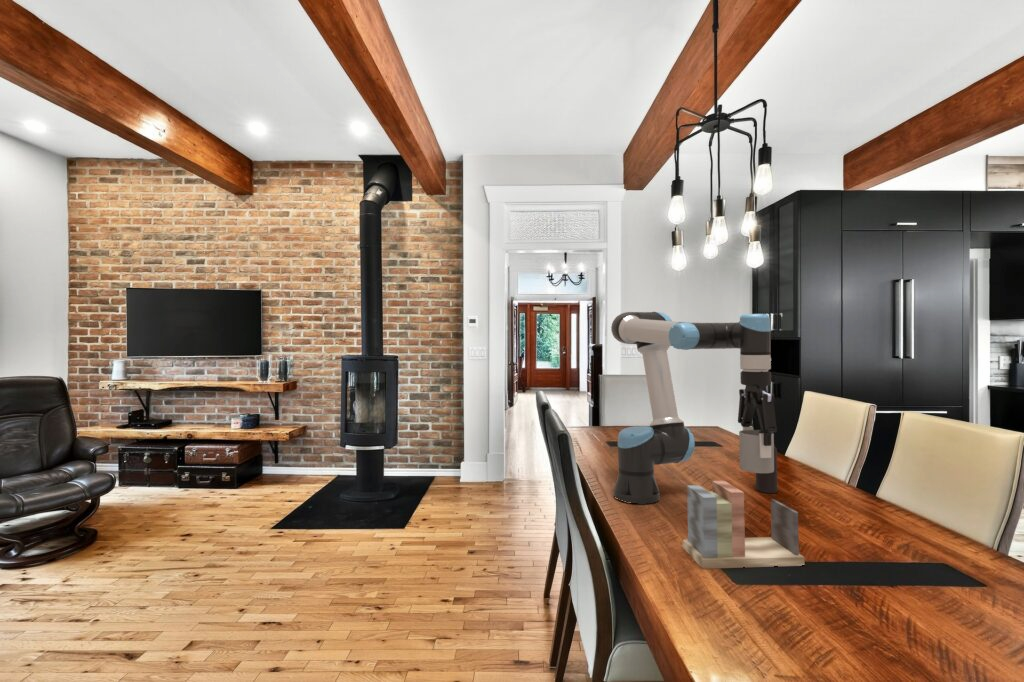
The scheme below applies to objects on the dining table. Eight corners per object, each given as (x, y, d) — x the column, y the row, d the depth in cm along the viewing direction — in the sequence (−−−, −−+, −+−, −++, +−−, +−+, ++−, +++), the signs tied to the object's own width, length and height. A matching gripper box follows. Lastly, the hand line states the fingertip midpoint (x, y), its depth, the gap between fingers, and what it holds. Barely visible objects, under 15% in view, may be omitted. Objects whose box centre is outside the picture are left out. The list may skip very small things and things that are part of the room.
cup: (760, 474, 129) (759, 436, 129) (733, 467, 137) (732, 431, 137) (780, 470, 133) (780, 433, 133) (753, 464, 140) (752, 428, 141)
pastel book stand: (682, 547, 126) (681, 480, 126) (775, 544, 127) (774, 478, 127) (702, 568, 114) (701, 494, 114) (804, 565, 115) (803, 492, 115)
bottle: (781, 491, 171) (780, 433, 172) (771, 494, 168) (770, 435, 168) (762, 486, 177) (761, 430, 177) (751, 490, 173) (750, 433, 173)
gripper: (792, 372, 125) (793, 462, 125) (749, 368, 146) (750, 445, 146) (762, 373, 124) (764, 463, 124) (724, 368, 145) (725, 445, 145)
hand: (756, 453), depth 135 cm, fingers closed on cup, 8 cm apart
